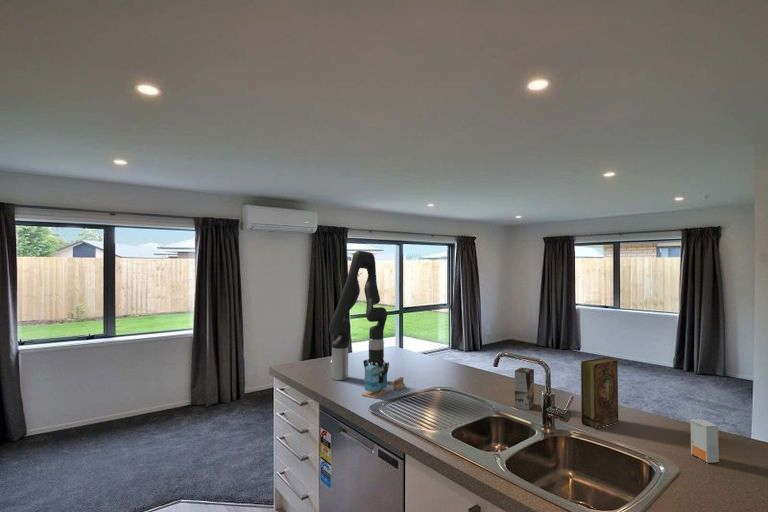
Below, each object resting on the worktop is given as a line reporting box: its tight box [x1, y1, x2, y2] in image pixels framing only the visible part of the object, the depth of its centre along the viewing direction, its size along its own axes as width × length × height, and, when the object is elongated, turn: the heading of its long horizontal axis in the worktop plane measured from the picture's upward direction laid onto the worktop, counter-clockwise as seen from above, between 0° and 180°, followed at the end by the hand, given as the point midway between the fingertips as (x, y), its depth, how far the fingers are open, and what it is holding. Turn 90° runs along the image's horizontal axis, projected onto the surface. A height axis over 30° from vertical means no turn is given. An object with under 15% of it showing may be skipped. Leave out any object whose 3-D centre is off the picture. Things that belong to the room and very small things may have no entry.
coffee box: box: [514, 367, 535, 411], centre depth 173 cm, size 9×6×16 cm
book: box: [580, 357, 619, 430], centre depth 153 cm, size 16×6×25 cm, turn 117°
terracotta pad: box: [361, 388, 390, 399], centre depth 189 cm, size 8×14×1 cm, turn 151°
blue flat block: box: [364, 364, 388, 392], centre depth 189 cm, size 12×4×12 cm, turn 140°
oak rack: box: [387, 376, 406, 392], centre depth 201 cm, size 16×10×5 cm, turn 61°
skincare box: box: [690, 418, 720, 463], centre depth 124 cm, size 6×4×12 cm
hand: (376, 382), depth 189 cm, fingers closed on blue flat block, 5 cm apart
